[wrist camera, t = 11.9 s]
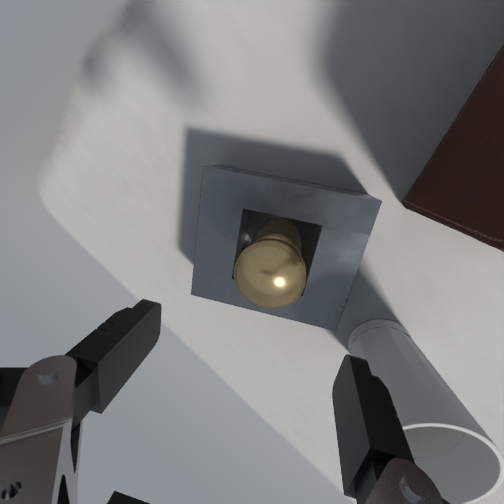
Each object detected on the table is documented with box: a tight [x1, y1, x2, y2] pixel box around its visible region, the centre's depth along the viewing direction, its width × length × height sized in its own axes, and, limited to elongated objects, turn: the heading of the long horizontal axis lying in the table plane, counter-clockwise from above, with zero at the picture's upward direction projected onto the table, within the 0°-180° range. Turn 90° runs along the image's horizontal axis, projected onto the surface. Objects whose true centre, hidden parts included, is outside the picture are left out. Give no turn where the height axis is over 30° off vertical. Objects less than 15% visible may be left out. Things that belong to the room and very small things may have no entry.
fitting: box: [234, 219, 306, 309], centre depth 22 cm, size 5×5×9 cm
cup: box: [348, 319, 504, 504], centre depth 22 cm, size 8×8×12 cm
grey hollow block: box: [191, 165, 382, 331], centre depth 24 cm, size 12×14×4 cm
